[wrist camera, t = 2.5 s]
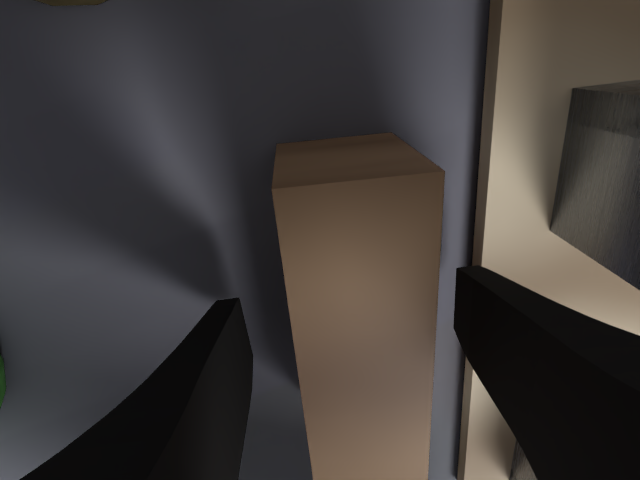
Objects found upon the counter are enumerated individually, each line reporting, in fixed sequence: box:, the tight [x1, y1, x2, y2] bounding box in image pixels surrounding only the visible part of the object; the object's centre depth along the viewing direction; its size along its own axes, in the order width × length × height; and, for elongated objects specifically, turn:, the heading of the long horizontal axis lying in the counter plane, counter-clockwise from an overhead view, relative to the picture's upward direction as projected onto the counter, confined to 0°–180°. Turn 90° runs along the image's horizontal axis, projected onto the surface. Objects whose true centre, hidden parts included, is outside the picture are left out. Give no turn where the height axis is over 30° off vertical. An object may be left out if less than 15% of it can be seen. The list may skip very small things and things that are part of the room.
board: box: [457, 0, 640, 480], centre depth 13 cm, size 18×10×1 cm, turn 6°
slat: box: [272, 132, 445, 480], centre depth 10 cm, size 9×3×4 cm, turn 5°
